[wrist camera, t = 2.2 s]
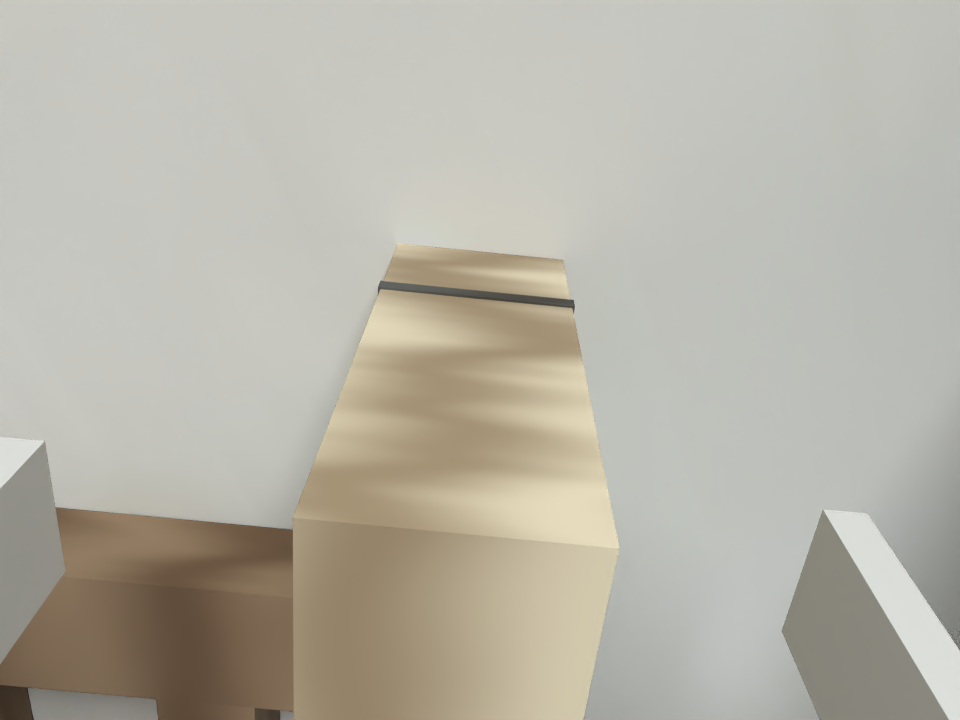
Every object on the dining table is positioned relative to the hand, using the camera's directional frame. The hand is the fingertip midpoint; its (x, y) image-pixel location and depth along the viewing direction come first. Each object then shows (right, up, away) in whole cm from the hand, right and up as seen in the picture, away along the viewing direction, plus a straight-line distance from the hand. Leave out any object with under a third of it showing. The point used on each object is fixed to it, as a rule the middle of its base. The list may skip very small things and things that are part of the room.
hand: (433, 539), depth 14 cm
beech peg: (+1, +4, +9) cm, 10 cm away
